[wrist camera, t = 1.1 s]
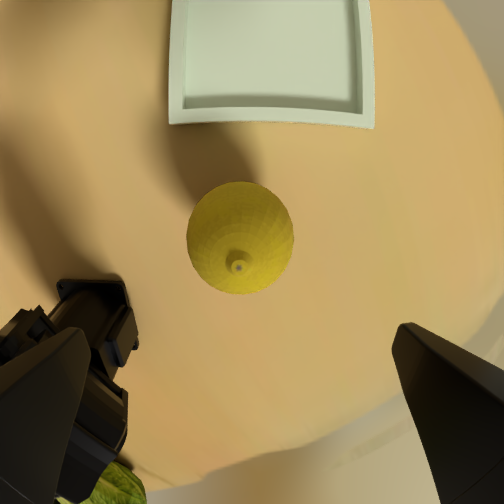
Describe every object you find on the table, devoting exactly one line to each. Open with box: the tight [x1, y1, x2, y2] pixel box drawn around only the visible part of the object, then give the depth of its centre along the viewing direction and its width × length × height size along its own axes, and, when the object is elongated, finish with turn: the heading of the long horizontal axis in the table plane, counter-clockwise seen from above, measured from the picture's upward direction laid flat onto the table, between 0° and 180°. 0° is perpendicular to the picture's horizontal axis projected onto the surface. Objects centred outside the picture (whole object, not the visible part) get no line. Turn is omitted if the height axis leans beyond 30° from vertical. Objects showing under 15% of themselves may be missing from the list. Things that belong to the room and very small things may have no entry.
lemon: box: [186, 181, 294, 294], centre depth 16 cm, size 6×6×8 cm
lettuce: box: [57, 461, 147, 504], centre depth 26 cm, size 15×24×15 cm
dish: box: [169, 0, 375, 129], centre depth 14 cm, size 12×12×2 cm
